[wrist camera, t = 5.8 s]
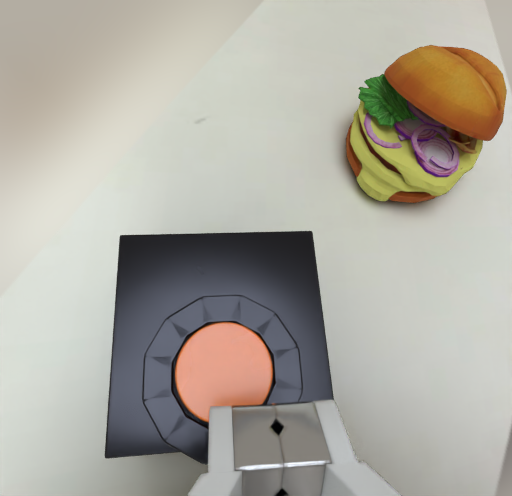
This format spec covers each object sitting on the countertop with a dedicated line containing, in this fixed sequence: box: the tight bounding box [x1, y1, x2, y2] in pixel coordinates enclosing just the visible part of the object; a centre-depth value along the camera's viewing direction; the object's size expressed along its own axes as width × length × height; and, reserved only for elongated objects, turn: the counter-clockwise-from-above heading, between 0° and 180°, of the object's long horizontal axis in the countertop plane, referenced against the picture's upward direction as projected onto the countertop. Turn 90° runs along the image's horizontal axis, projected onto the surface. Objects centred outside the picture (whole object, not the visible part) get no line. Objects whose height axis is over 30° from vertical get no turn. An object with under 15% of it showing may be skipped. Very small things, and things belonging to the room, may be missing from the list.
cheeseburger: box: [346, 45, 507, 203], centre depth 28 cm, size 10×11×10 cm
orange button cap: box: [175, 322, 273, 423], centre depth 15 cm, size 4×4×2 cm
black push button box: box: [105, 231, 334, 465], centre depth 20 cm, size 10×10×9 cm
